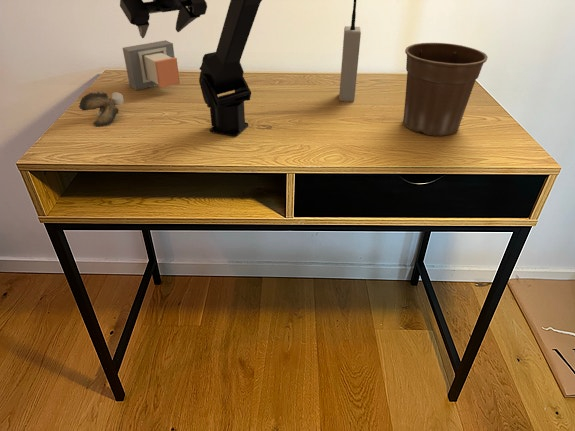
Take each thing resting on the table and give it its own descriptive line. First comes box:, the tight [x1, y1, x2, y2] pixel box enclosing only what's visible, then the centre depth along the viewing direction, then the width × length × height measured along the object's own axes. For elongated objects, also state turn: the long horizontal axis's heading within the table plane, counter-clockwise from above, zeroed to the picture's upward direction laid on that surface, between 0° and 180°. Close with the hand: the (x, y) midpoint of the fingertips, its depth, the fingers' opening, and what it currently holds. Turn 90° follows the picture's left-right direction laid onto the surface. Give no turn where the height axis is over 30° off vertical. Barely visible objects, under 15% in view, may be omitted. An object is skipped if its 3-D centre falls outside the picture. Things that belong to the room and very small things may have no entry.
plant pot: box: [402, 42, 489, 137], centre depth 99 cm, size 16×16×16 cm
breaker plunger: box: [142, 52, 181, 89], centre depth 118 cm, size 10×5×6 cm, turn 39°
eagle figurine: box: [78, 91, 125, 128], centre depth 103 cm, size 8×7×9 cm
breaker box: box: [122, 39, 175, 91], centre depth 121 cm, size 4×12×10 cm, turn 129°
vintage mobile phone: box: [338, 0, 362, 103], centre depth 109 cm, size 4×5×25 cm
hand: (159, 33), depth 109 cm, fingers open, 9 cm apart
